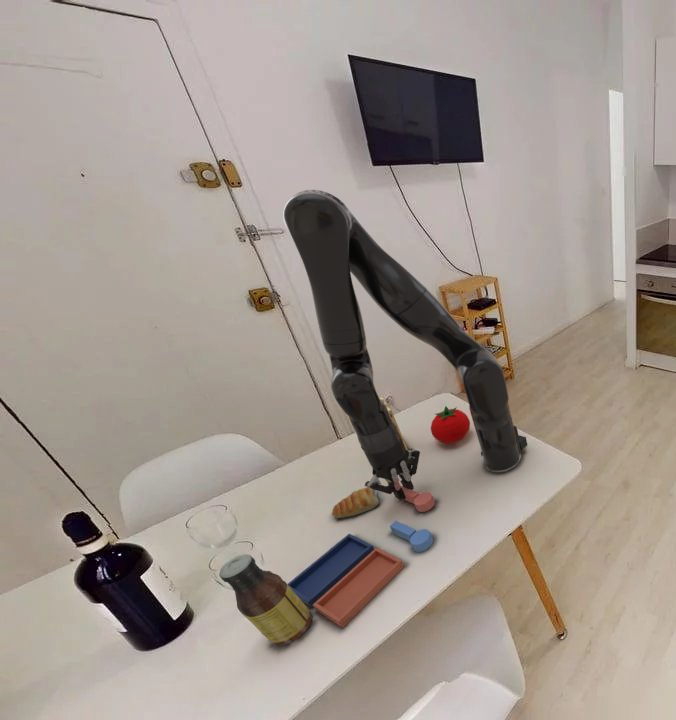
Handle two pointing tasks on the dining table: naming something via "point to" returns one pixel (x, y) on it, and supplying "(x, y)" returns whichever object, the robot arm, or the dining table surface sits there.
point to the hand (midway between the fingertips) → (406, 494)
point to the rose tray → (358, 587)
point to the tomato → (450, 425)
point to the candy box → (394, 421)
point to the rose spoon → (419, 499)
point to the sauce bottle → (266, 600)
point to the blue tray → (329, 569)
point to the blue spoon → (413, 536)
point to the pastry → (356, 503)
